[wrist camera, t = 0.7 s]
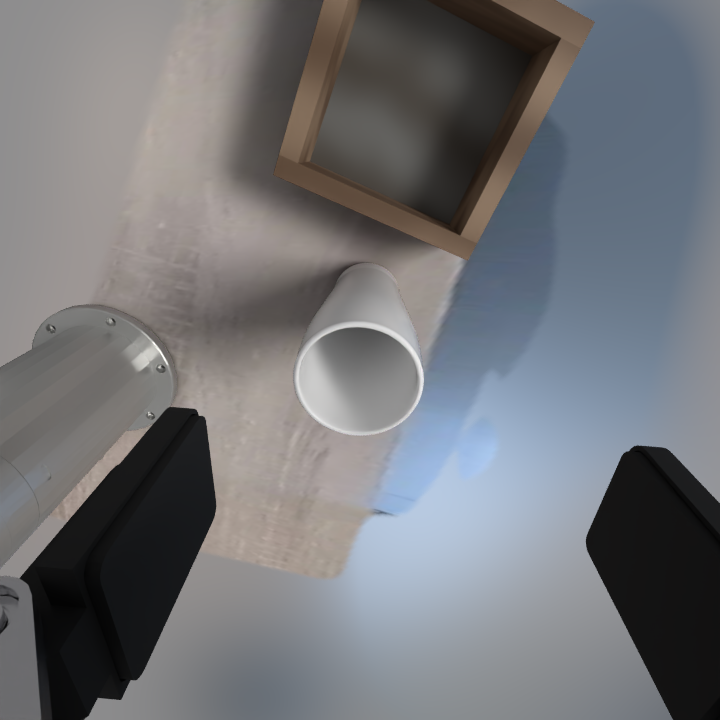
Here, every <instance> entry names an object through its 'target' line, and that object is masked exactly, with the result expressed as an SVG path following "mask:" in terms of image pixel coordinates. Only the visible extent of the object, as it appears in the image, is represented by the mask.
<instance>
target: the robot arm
mask: <svg viewBox="0 0 720 720" xmlns="http://www.w3.org/2000/svg"><path fill="white" fill-rule="evenodd" d="M176 391H177V375H176V370H175V366H174V363H173V361H172V359H171V356H170V354H169V352H168V351H167V349H166V348H165V346H164V345H163V343H162V342H161V341H160V340H159V339H158V337H157V336H156V335H155V334H154V333H153V332H152V331H151V330H150V329H148V328H147V327H146V326H145V325H143V324H142V323H141V322H139V321H138V320H136V319H134V318H133V317H131V316H129V315H128V314H125V313H123V312H120V311H118V310H116V309H112V308H108V307H104V306H100V305H78V306H72V307H69V308H66V309H64V310H61V311H59V312H57V313H56V314H54V315H52V316H50V317H49V318H48V319H46V320H45V321H44V322H43V323H42V324H41V326H40V327H39V329H38V330H37V332H36V334H35V337H34V340H33V345H32V350H30V351H28V352H26V353H25V354H23V355H21V356H19V357H18V358H16V359H14V360H12V361H11V362H9V363H7V364H5V365H3V366H2V367H0V569H1V568H2V567H3V565H4V564H5V563H6V562H7V561H8V560H9V559H10V558H11V556H12V555H13V554H14V553H15V552H16V551H17V550H18V549H19V548H20V546H21V545H22V544H23V543H24V542H25V541H26V540H27V539H28V538H29V537H30V536H31V535H32V534H33V532H34V531H35V530H36V529H37V528H38V527H39V526H40V525H41V523H43V521H44V520H45V519H46V518H47V517H48V516H49V515H50V514H51V513H52V512H53V511H54V509H55V508H56V507H57V506H58V505H59V504H60V503H61V502H62V501H63V500H64V498H65V497H66V496H67V495H68V494H69V493H70V492H71V491H72V490H73V489H74V487H75V486H76V485H77V484H78V483H79V482H80V481H81V480H82V479H83V478H84V477H85V475H86V474H87V473H88V472H89V471H90V470H91V469H92V468H93V467H94V466H95V464H96V463H97V462H98V461H99V460H101V459H102V458H103V457H104V455H105V453H106V452H107V451H108V450H109V449H110V448H111V447H112V446H113V445H114V444H115V443H116V441H117V440H118V439H119V438H120V437H121V436H122V435H123V434H124V433H125V432H126V431H132V430H138V429H142V428H145V427H148V426H149V425H151V424H153V423H154V424H153V425H152V426H151V427H150V429H149V430H148V431H147V432H146V433H145V435H144V436H143V437H142V438H141V439H140V441H139V442H138V443H137V444H136V445H135V447H134V448H133V449H132V450H131V451H130V452H129V454H128V455H127V456H126V457H125V458H124V460H123V461H122V462H121V463H120V464H119V465H117V466H116V467H114V468H113V469H112V470H111V471H110V472H109V474H108V475H107V476H106V477H105V478H104V480H103V481H102V482H101V483H100V484H99V485H98V487H97V488H96V489H95V490H94V491H93V492H92V494H91V495H90V496H89V497H88V498H87V500H86V501H85V502H84V503H83V504H82V505H81V507H80V508H79V509H78V510H77V511H76V512H75V514H74V515H73V516H72V517H71V518H70V520H69V521H68V522H67V523H66V524H65V525H64V527H63V528H62V529H61V530H60V531H59V533H58V534H57V535H56V536H55V537H54V538H53V540H52V541H51V542H50V543H49V544H48V545H47V547H46V548H45V549H44V550H43V551H42V552H41V554H40V555H39V556H38V557H37V558H36V560H35V561H34V562H33V563H32V564H31V565H30V567H29V568H28V569H27V570H26V571H25V572H24V574H23V575H22V576H21V577H20V578H14V577H10V576H0V720H84V719H85V718H86V717H87V716H89V714H90V712H91V710H92V708H93V706H94V704H95V702H96V700H97V698H106V699H116V700H121V699H122V697H123V695H124V692H125V690H126V688H127V686H128V684H129V682H130V680H137V679H138V678H139V677H140V676H141V674H142V673H143V671H144V669H145V667H146V665H147V663H148V661H149V658H150V656H151V654H152V652H153V650H154V647H155V645H156V643H157V641H158V639H159V637H160V634H161V632H162V630H163V628H164V626H165V624H166V622H167V619H168V617H169V615H170V613H171V611H172V608H173V606H174V604H175V602H176V599H177V598H178V595H179V593H180V591H181V589H182V587H183V585H184V582H185V580H186V578H187V576H188V574H189V572H190V569H191V567H192V565H193V563H194V561H195V559H196V556H197V554H198V552H199V550H200V548H201V546H202V543H203V541H204V539H205V537H206V535H207V533H208V530H209V528H210V526H211V524H212V522H213V519H214V516H215V512H216V498H215V490H214V482H213V474H212V466H211V458H210V450H209V442H208V434H207V426H206V420H205V417H203V416H199V415H198V412H197V410H195V409H189V408H177V407H170V406H171V405H172V403H173V401H174V399H175V395H176ZM586 547H587V550H588V553H589V555H590V557H591V559H592V561H593V563H594V565H595V567H596V569H597V571H598V573H599V575H600V577H601V579H602V581H603V583H604V585H605V587H606V588H607V591H608V593H609V595H610V597H611V599H612V600H613V602H614V605H615V606H616V608H617V610H618V612H619V614H620V616H621V618H622V620H623V622H624V624H625V626H626V628H627V630H628V632H629V634H630V636H631V638H632V640H633V642H634V644H635V646H636V648H637V649H638V652H639V654H640V656H641V658H642V660H643V661H644V664H645V666H646V668H647V669H648V671H649V673H650V675H651V677H652V679H653V681H654V683H655V685H656V687H657V689H658V691H659V693H660V695H661V697H662V699H663V701H664V703H665V705H666V707H667V709H668V711H669V713H670V715H671V717H672V718H673V720H720V503H719V502H718V501H717V500H716V499H715V498H714V497H713V496H712V495H711V494H710V493H709V492H708V491H707V490H706V488H704V486H702V485H701V483H700V482H699V481H698V480H697V479H696V478H695V477H694V476H693V475H692V474H691V473H690V472H689V471H688V470H687V469H686V468H685V466H684V465H683V464H682V463H681V462H680V461H679V460H678V459H677V458H676V457H675V456H674V455H673V454H672V453H671V452H670V451H669V450H668V449H666V448H661V447H649V446H634V447H633V448H631V449H630V451H628V452H625V453H624V454H623V455H622V457H621V459H620V461H619V464H618V466H617V468H616V470H615V473H614V475H613V477H612V479H611V482H610V484H609V486H608V489H607V491H606V493H605V496H604V498H603V500H602V502H601V504H600V507H599V509H598V511H597V514H596V516H595V518H594V520H593V523H592V525H591V527H590V529H589V532H588V534H587V537H586Z"/></svg>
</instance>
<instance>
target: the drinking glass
mask: <svg viewBox="0 0 720 720" xmlns="http://www.w3.org/2000/svg"><path fill="white" fill-rule="evenodd" d="M293 383H294V388H295V392H296V395H297V398H298V400H299V402H300V403H301V405H302V407H303V408H304V409H305V411H306V412H307V413H308V414H309V415H310V416H311V417H312V418H313V419H314V420H315V421H317V422H318V423H320V424H321V425H323V426H324V427H326V428H328V429H330V430H333V431H335V432H339V433H342V434H347V435H356V436H365V435H373V434H378V433H381V432H384V431H387V430H389V429H391V428H393V427H395V426H397V425H398V424H400V423H401V422H403V421H404V420H405V419H406V418H407V417H408V416H409V415H410V414H411V413H412V411H413V410H414V409H415V407H416V406H417V404H418V402H419V400H420V397H421V394H422V390H423V384H424V375H423V365H422V356H421V349H420V345H419V340H418V336H417V333H416V330H415V327H414V325H413V322H412V320H411V318H410V315H409V313H408V311H407V309H406V306H405V304H404V302H403V299H402V297H401V295H400V290H399V286H398V283H397V281H396V279H395V278H394V276H393V275H392V274H391V273H390V272H389V271H388V270H387V269H386V268H384V267H382V266H380V265H377V264H374V263H359V264H356V265H353V266H351V267H349V268H348V269H346V270H345V271H344V272H343V273H342V274H341V275H340V277H339V278H338V280H337V282H336V284H335V286H334V288H333V290H332V291H331V292H330V294H329V295H328V297H327V298H326V300H325V301H324V303H323V304H322V305H321V307H320V308H319V310H318V311H317V312H316V314H315V315H314V317H313V319H312V320H311V322H310V324H309V326H308V328H307V330H306V332H305V335H304V337H303V339H302V342H301V345H300V348H299V351H298V355H297V358H296V361H295V365H294V370H293Z"/></svg>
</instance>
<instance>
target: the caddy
mask: <svg viewBox="0 0 720 720" xmlns="http://www.w3.org/2000/svg"><path fill="white" fill-rule="evenodd" d="M593 25H594V21H592V20H590V19H589V18H587V17H585V16H583V15H581V14H580V13H578V12H576V11H574V10H572V9H570V8H569V7H567V6H565V5H563V4H561V3H559V2H558V1H556V0H324V1H323V4H322V8H321V11H320V15H319V18H318V22H317V25H316V28H315V32H314V35H313V39H312V42H311V46H310V49H309V53H308V56H307V60H306V63H305V67H304V70H303V73H302V77H301V80H300V84H299V87H298V91H297V94H296V98H295V101H294V105H293V108H292V111H291V115H290V118H289V122H288V125H287V129H286V132H285V136H284V139H283V143H282V146H281V150H280V153H279V156H278V160H277V163H276V167H275V170H274V174H273V175H275V176H277V177H279V178H281V179H284V180H286V181H288V182H291V183H293V184H295V185H297V186H300V187H302V188H304V189H306V190H309V191H311V192H313V193H315V194H318V195H320V196H322V197H325V198H327V199H329V200H331V201H334V202H336V203H338V204H340V205H343V206H345V207H347V208H350V209H352V210H354V211H356V212H359V213H361V214H363V215H365V216H368V217H370V218H372V219H375V220H377V221H379V222H381V223H384V224H386V225H388V226H390V227H393V228H395V229H397V230H400V231H402V232H404V233H406V234H409V235H411V236H413V237H415V238H418V239H420V240H422V241H424V242H427V243H429V244H431V245H434V246H436V247H438V248H440V249H443V250H445V251H447V252H449V253H452V254H454V255H456V256H459V257H461V258H463V259H465V260H468V259H469V257H470V255H471V254H472V252H473V250H474V248H475V246H476V244H477V242H478V240H479V239H480V237H481V235H482V233H483V231H484V229H485V227H486V225H487V224H488V222H489V220H490V218H491V216H492V214H493V212H494V210H495V209H496V207H497V205H498V203H499V201H500V199H501V197H502V195H503V194H504V192H505V190H506V188H507V186H508V184H509V182H510V180H511V179H512V177H513V175H514V173H515V171H516V169H517V167H518V165H519V164H520V162H521V160H522V158H523V156H524V154H525V152H526V150H527V149H528V147H529V145H530V143H531V141H532V139H533V137H534V135H535V134H536V132H537V130H538V128H539V126H540V124H541V122H542V120H543V119H544V117H545V115H546V113H547V111H548V109H549V107H550V105H551V104H552V102H553V100H554V98H555V96H556V94H557V92H558V90H559V89H560V87H561V85H562V83H563V81H564V79H565V77H566V75H567V73H568V72H569V70H570V68H571V66H572V64H573V62H574V60H575V59H576V57H577V55H578V53H579V51H580V49H581V47H582V45H583V44H584V42H585V40H586V38H587V36H588V34H589V32H590V30H591V28H592V27H593Z"/></svg>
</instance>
